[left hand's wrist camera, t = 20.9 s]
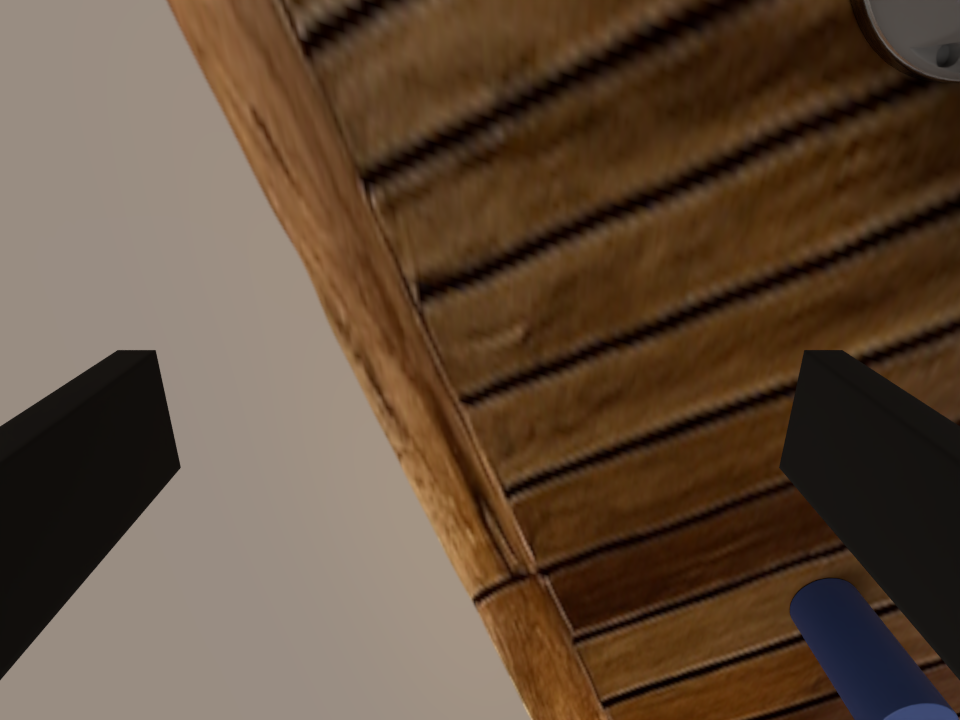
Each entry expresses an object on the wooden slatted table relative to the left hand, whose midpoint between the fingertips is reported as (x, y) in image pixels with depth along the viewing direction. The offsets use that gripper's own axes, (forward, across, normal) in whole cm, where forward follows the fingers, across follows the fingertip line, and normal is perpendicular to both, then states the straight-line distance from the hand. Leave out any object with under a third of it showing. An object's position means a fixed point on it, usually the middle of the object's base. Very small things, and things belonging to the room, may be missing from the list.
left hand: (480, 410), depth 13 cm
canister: (+30, +30, -34) cm, 54 cm away
